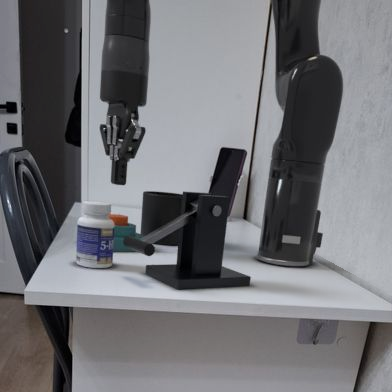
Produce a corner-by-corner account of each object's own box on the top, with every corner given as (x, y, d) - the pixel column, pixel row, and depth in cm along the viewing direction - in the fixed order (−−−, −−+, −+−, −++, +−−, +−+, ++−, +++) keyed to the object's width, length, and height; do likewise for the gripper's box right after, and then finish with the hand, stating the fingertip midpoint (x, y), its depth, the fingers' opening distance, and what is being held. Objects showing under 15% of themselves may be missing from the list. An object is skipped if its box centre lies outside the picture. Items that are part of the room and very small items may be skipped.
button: (122, 224, 97) (122, 214, 97) (131, 227, 95) (131, 217, 94) (103, 224, 95) (103, 213, 95) (112, 227, 93) (112, 216, 92)
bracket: (177, 289, 71) (186, 196, 67) (145, 273, 78) (151, 188, 74) (249, 285, 77) (261, 200, 73) (213, 271, 84) (222, 192, 80)
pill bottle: (105, 270, 77) (108, 206, 74) (70, 265, 78) (71, 201, 75) (117, 264, 82) (120, 203, 79) (84, 259, 83) (86, 199, 80)
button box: (131, 242, 102) (132, 221, 101) (151, 251, 96) (153, 228, 94) (80, 242, 97) (81, 219, 95) (98, 251, 90) (99, 227, 89)
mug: (165, 235, 116) (168, 191, 113) (196, 245, 107) (201, 198, 104) (125, 234, 111) (128, 188, 108) (155, 245, 101) (158, 195, 98)
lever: (147, 261, 69) (141, 244, 67) (126, 252, 73) (120, 236, 72) (227, 214, 73) (222, 197, 72) (203, 208, 78) (198, 192, 76)
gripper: (166, 74, 84) (156, 190, 90) (127, 78, 94) (121, 182, 100) (121, 64, 80) (114, 187, 85) (86, 70, 90) (82, 179, 96)
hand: (118, 184), depth 93 cm, fingers closed
